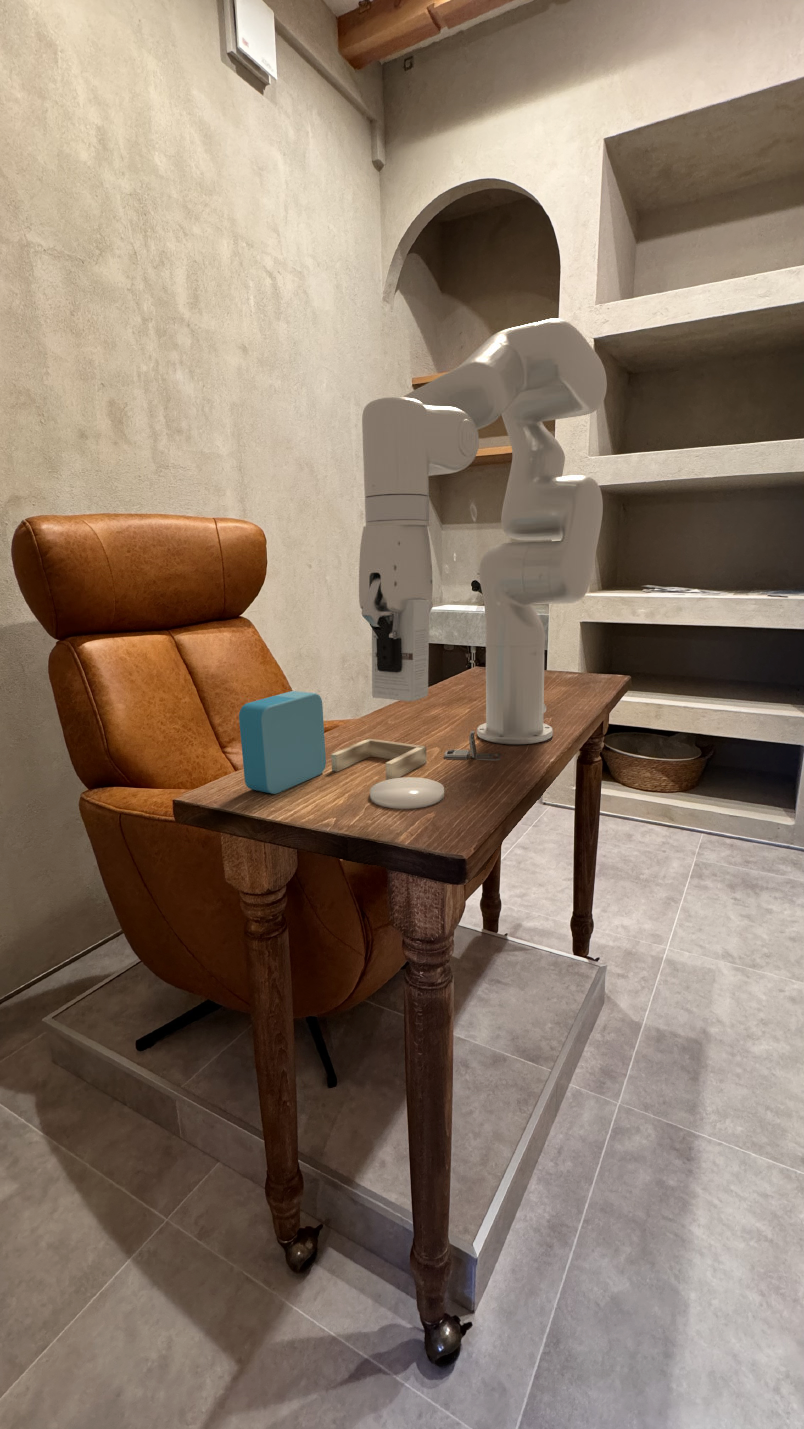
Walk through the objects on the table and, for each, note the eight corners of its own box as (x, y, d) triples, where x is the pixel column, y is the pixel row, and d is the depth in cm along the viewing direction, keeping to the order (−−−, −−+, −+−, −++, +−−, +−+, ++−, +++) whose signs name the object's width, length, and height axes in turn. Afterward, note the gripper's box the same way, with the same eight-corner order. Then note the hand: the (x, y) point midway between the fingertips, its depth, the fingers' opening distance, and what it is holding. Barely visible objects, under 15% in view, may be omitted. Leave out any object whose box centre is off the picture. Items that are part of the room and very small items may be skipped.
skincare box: (370, 698, 83) (367, 599, 80) (389, 692, 87) (386, 597, 84) (414, 702, 80) (412, 600, 77) (431, 695, 84) (430, 597, 81)
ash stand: (369, 753, 106) (368, 738, 105) (426, 762, 100) (426, 746, 100) (332, 770, 98) (330, 754, 97) (392, 781, 92) (391, 763, 92)
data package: (303, 767, 100) (298, 688, 97) (327, 772, 98) (322, 691, 95) (244, 792, 90) (236, 705, 87) (269, 797, 88) (261, 708, 85)
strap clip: (443, 760, 102) (442, 734, 101) (446, 755, 105) (445, 728, 104) (499, 762, 100) (499, 735, 99) (500, 756, 103) (500, 729, 102)
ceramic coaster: (395, 779, 93) (395, 773, 93) (457, 789, 88) (457, 783, 88) (355, 801, 85) (355, 795, 85) (420, 814, 80) (419, 807, 80)
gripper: (407, 519, 88) (410, 658, 92) (327, 512, 74) (334, 676, 78) (458, 515, 84) (459, 661, 88) (384, 508, 70) (388, 681, 74)
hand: (400, 666), depth 83 cm, fingers closed on skincare box, 4 cm apart
